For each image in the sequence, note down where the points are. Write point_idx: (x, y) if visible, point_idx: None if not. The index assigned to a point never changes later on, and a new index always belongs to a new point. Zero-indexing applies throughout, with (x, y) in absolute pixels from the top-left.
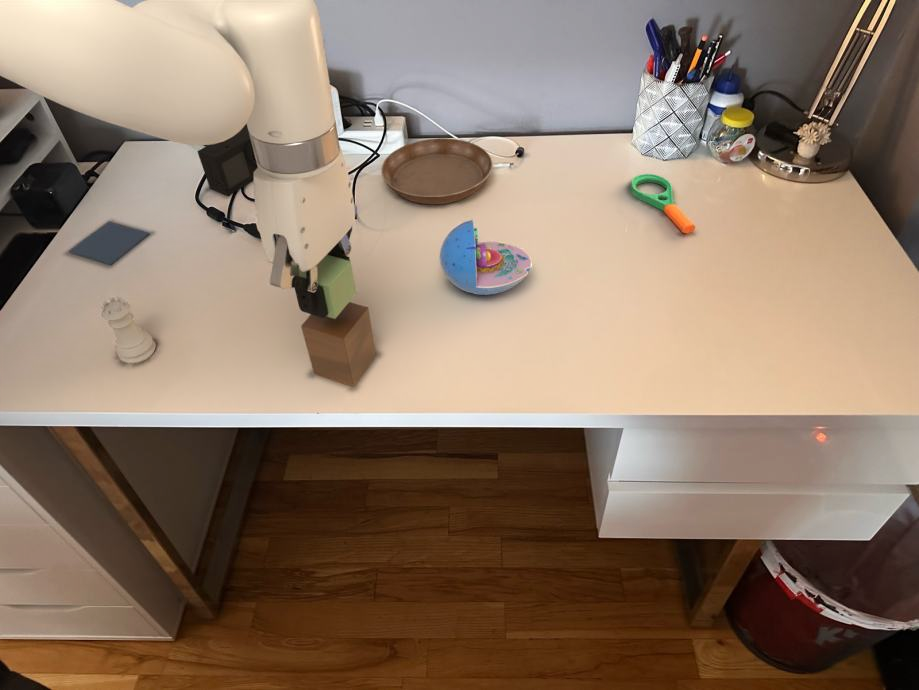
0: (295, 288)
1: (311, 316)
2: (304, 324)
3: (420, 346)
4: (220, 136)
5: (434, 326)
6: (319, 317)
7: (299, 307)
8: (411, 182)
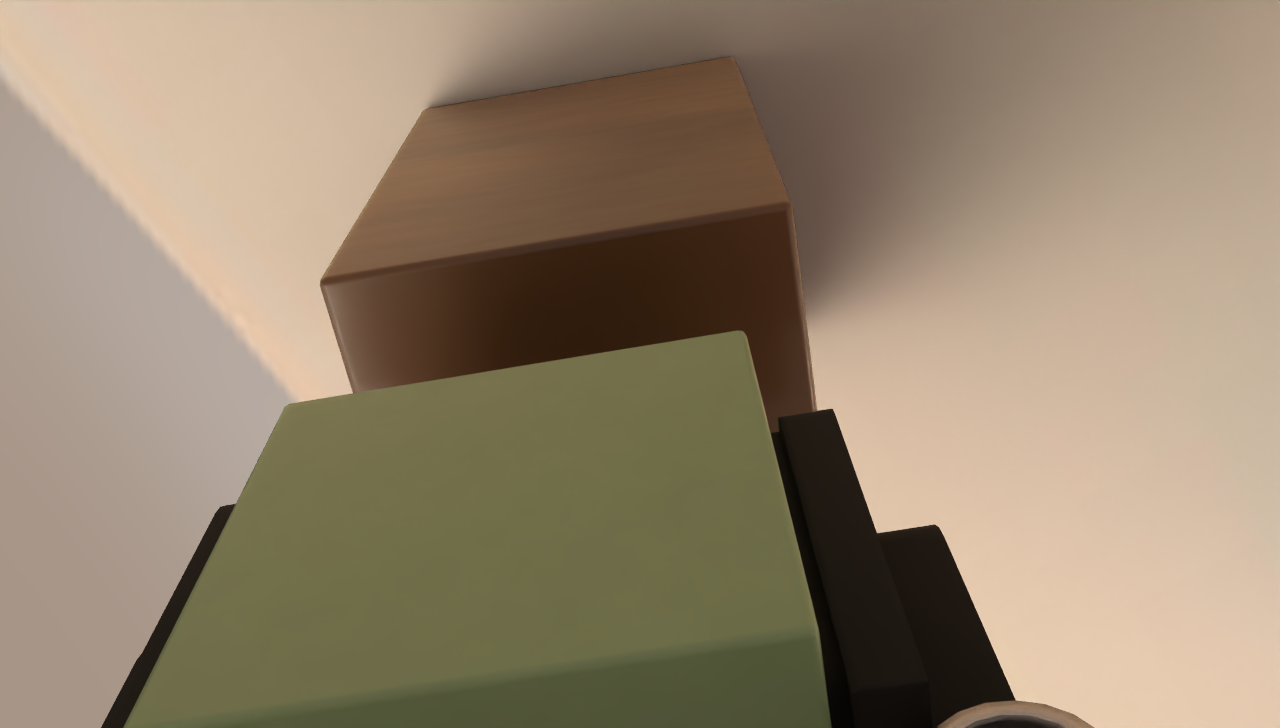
0: (115, 725)
1: (471, 278)
2: (351, 298)
3: (968, 497)
4: None
5: (1160, 472)
6: (503, 351)
7: (215, 516)
8: None
